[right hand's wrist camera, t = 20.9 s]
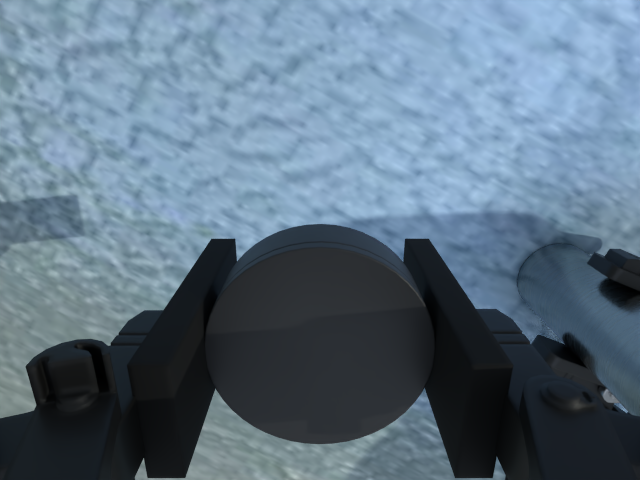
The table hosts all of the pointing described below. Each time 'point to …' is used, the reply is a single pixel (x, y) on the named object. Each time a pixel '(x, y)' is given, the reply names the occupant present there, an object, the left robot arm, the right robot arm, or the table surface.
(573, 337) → the cylinder
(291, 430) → the lid
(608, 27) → the table surface
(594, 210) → the table surface
